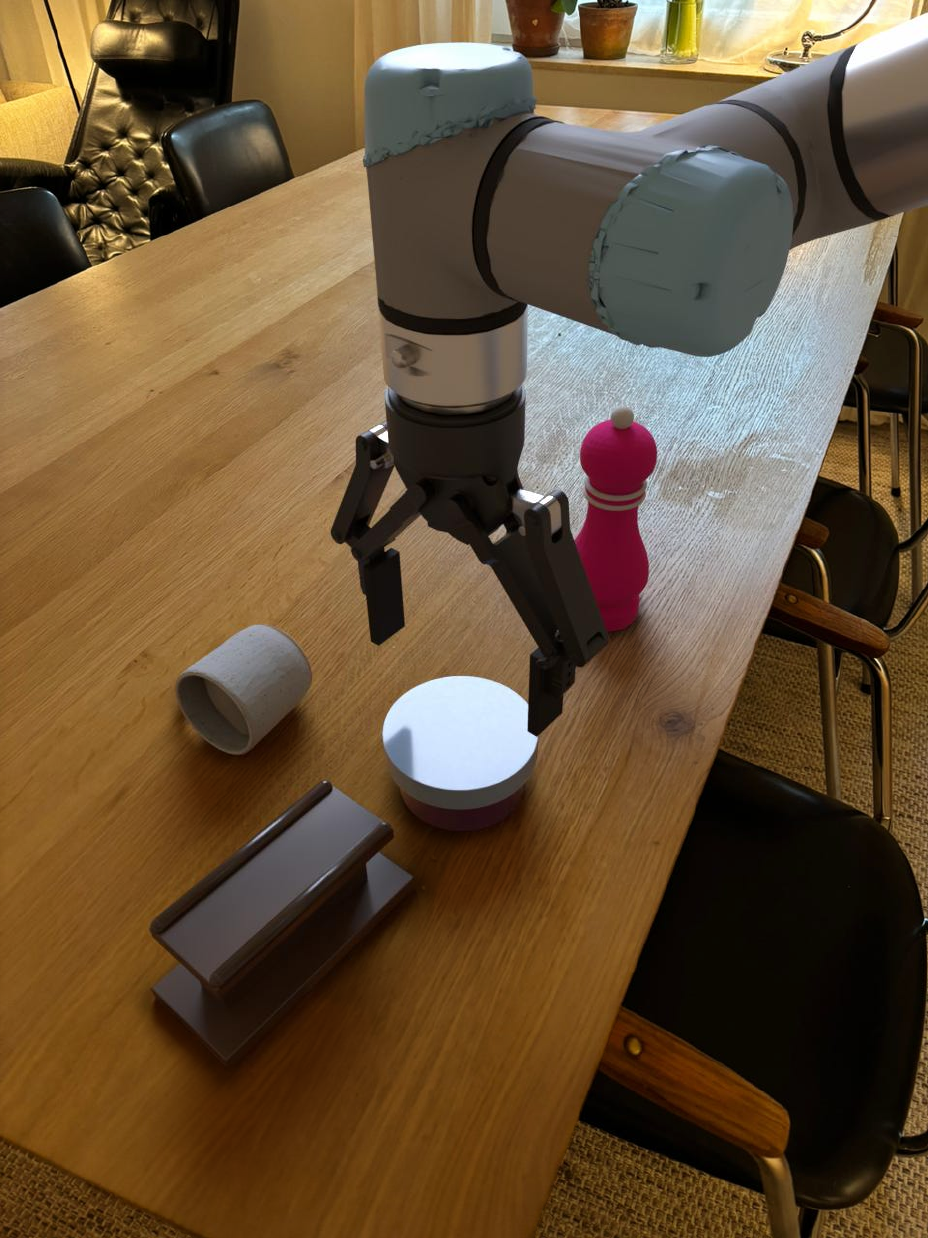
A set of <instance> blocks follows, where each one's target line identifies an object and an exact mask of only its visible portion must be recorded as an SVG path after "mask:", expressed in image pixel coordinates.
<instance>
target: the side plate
mask: <svg viewBox="0 0 928 1238" xmlns="http://www.w3.org/2000/svg"><path fill="white" fill-rule="evenodd" d="M527 728H528V701H526V700H525V699H524V698H523V696H521V695H520V694H519V693H517V692H516V691H515V690H513V689H512V688H510V687H508V686H507V685H504V684H502V683H500V682H498V681H495V680H492V679H488V678H484V677H478V676H470V675H452V676H443V677H439V678H434V679H431V680H428V681H424V682H423V683H420V684H417V685H416V686H414V687H413V688H411V689H409V690H408V691H406V692H405V693H404V694H402V695H401V696H400V697H398V699H397V700H396V701H395V702H394V703H393V705H391V707H390V708H389V710H388V712H387V714H386V716H385V718H384V721H383V725H382V731H381V732H382V733H381V739H382V749H383V758H384V764H385V767H386V770H387V772H388V774H389V776H390V777H391V779H392V781H393V782H394V783H395V784H396V785H397V786H398V787H399V789H400V788H401V789H402V790H403V791H404V792H406V793H407V794H408V795H410V796H411V797H413V798H415V799H417V800H419V801H421V802H423V803H425V804H428V805H432V806H435V807H439V808H445V809H455V810H465V809H475V808H481V807H485V806H489V805H491V804H494V803H497V802H499V801H501V800H503V799H505V798H507V797H509V796H510V795H512V794H513V793H515V792H516V791H517V790H518V789H519V788H521V787H522V786H523V785H524V786H525V783H526V782H528V780H529V779H530V777H531V775H532V774H533V771H534V769H535V767H536V764H537V760H538V752H539V751H538V750H539V736H538V737H536V736H534V735H533V734H531V733H529V732H527Z"/></svg>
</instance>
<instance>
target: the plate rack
mask: <svg viewBox="0 0 928 1238" xmlns="http://www.w3.org/2000/svg"><path fill="white" fill-rule="evenodd" d="M394 838H395V832H394V827H392V825H391V824H390V823H389V822H388V821H385V820H383V819H382V818H379V817H378V816H376V815H375V814H374V813H373V812H371V811H369V810H368V809H367V808H366V807H364V806H363V805H361V804H360V803H358V802H357V801H355V800H354V799H353V798H351V797H350V796H348V795H347V794H346V793H344V792H343V791H341V790H340V789H338V788H337V787H335V786H334V785H333V783H332V782H331V781H330V780H327V779H324V780H321V781H319V782H318V783H317V784H315V785H314V786H313V787H312V788H310V789H309V790H308V791H307V792H306V793H304V794H303V795H302V796H300V798H299V799H297V800H296V801H295V802H294V803H293V804H291V805H289V806H288V808H287V809H285V810H284V811H283V812H282V813H280V814H279V815H278V816H277V817H275V818H274V819H273V820H272V821H271V822H269V823H268V824H267V825H266V826H265V827H263V828H262V829H261V830H260V831H258V832H257V833H256V834H255V835H253V837H251V838H250V839H248V841H247V842H246V843H244V844H243V845H241V846H240V847H239V848H238V849H237V850H235V851H234V852H233V853H232V854H230V856H229V857H227V858H226V859H225V860H223V862H221V863H219V865H218V866H216V867H215V868H214V869H213V870H211V872H209V873H207V874H206V875H205V876H204V877H203V878H201V880H199V881H198V882H196V884H195V885H193V886H192V887H191V888H190V889H188V890H187V891H186V892H184V894H182V895H181V896H180V897H179V898H178V899H177V900H175V901H174V902H172V903H171V904H170V905H169V906H168V907H167V908H166V909H164V910H163V911H161V912H160V913H159V914H158V915H157V916H155V917H154V919H152V920H151V923H150V927H149V928H148V929H149V932H150V934H151V937H152V939H154V940H155V941H156V942H157V943H158V944H159V945H160V946H161V947H162V948H163V949H164V950H166V952H168V953H169V955H171V956H172V957H173V958H174V959H175V960H176V961H177V962H178V964H177V965H175V966H174V967H173V968H172V969H171V970H170V971H169V972H168V973H167V974H165V975H164V976H163V977H162V978H161V979H159V981H157V982H156V983H155V984H154V985H153V986H152V987H151V992H152V994H153V997H154V998H155V1000H156V1001H157V1002H158V1003H159V1004H160V1005H161V1006H162V1007H164V1009H165V1010H166V1011H167V1012H168V1013H169V1014H171V1016H172V1017H174V1019H175V1020H177V1021H178V1022H179V1023H180V1024H181V1025H182V1026H183V1027H184V1029H186V1031H188V1032H189V1033H190V1034H191V1035H192V1036H193V1037H194V1038H195V1040H197V1041H198V1042H199V1043H200V1044H201V1045H202V1046H203V1047H204V1048H205V1049H206V1050H207V1051H208V1052H209V1053H210V1054H211V1055H212V1056H214V1058H215V1059H216V1060H217V1061H219V1062H220V1063H221V1064H222V1066H223V1067H225V1068H226V1069H227V1070H228V1071H229V1070H231V1069H232V1068H233V1067H234V1066H235V1065H236V1064H237V1063H238V1062H239V1061H240V1060H241V1059H242V1058H243V1057H245V1056H246V1054H248V1052H250V1050H251V1049H252V1048H253V1047H255V1046H256V1045H257V1043H259V1041H261V1039H263V1038H264V1037H265V1036H266V1035H267V1033H269V1032H270V1031H271V1030H272V1029H273V1028H274V1027H275V1026H276V1025H277V1024H278V1023H279V1022H280V1021H281V1020H282V1019H283V1018H284V1017H285V1016H286V1015H288V1013H289V1012H290V1011H291V1010H292V1009H293V1008H294V1007H295V1006H297V1004H298V1003H299V1002H300V1001H301V1000H302V999H303V998H304V997H305V996H306V995H307V994H308V993H309V992H311V990H312V989H313V988H315V986H316V985H318V983H319V982H320V981H322V979H323V978H325V977H326V975H327V974H329V972H331V971H332V970H333V969H334V968H335V967H336V966H337V965H338V964H339V963H340V962H341V961H342V960H343V959H344V958H345V957H346V956H347V955H348V954H349V953H350V952H351V951H352V950H353V949H354V948H355V947H356V946H357V945H358V944H359V943H360V942H361V941H362V940H363V939H364V938H365V937H366V936H367V935H368V934H369V933H370V932H371V931H372V930H374V928H375V927H377V925H378V924H379V923H380V922H381V921H382V920H383V919H384V918H385V917H386V916H388V915H389V913H390V912H391V911H393V910H394V909H395V907H397V906H398V904H399V903H401V902H402V901H403V900H404V899H405V897H407V896H408V895H409V894H410V893H411V892H412V891H413V890H414V889H415V877H414V875H412V874H411V873H409V872H408V871H406V870H405V869H403V868H402V867H401V866H399V865H398V864H397V863H395V862H394V861H393V860H391V859H389V857H387V856H386V855H384V854H383V853H382V852H381V850H383V849H384V848H385V847H386V846H387V845H388V844H389V843H390V842H391V841H393V840H394Z"/></svg>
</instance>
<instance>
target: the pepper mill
mask: <svg viewBox="0 0 928 1238" xmlns="http://www.w3.org/2000/svg"><path fill="white" fill-rule="evenodd" d="M610 414H611V415H610V419H607V420H603V421H601V422H599V423H597V424H595V425H594V426H593V427H592V428H590V429H589V430H588V432H587V433H586V435H585V436H584V438H583V440H582V442H581V446H580V451H579V462H580V466H581V469H582V471H583V472H584V474H585V476H584V478H583V479H584V480H583V485H584V486H583V490H582V493H583V496H584V498H585V499H586V501H587V510H586V514H585V515H586V516H585V518H584V523H583V525H582V527H581V529H580V531H579V533H578V534H577V535H576V537H575V538H574V541H575V544H576V546H577V549H578V552H579V555H580V558H581V560H582V563H583V566H584V569H585V572H586V574H587V577H588V580H589V583H590V586H591V588H592V591H593V594H594V597H595V600H596V602H597V605H598V608H599V611H600V614H601V616H602V619H603V622H604V625H605V627H606V630H607V633H609V632H610V633H611V632H617V631H620V630H623V629H626V628H627V627H629V626H630V625H631V624H632V623H634V622H635V621H636V618H637V617H638V614H639V607H640V601H641V599H640V594H641V593H642V592H643V591H644V589H645V588H646V586H647V584H648V581H649V575H650V574H649V573H650V563H649V558H648V552H647V549H646V546H645V544H644V541H643V539H642V536H641V533H640V529H639V522H638V520H639V519H638V517H639V516H638V515H639V513H638V512H639V506H641V504H643V502H644V501H645V499H646V497H647V496H646V495H647V491H646V490H647V487H648V480H647V479H648V478H649V477H650V476H651V475H652V474H653V473H654V470H655V469H656V466H657V462H658V447H657V443H656V440H655V438H654V436H653V434H652V433H651V432H650V431H649V430H648V428H646V427H645V426H644V425H643V424H641V423H638V422H637V421H634V420H635V414H634V411H633V410H632V409H631V408H630V407H629V406H627V405H619V406H616V407H615V408H613V410H612V412H611V413H610Z"/></svg>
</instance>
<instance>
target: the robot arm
mask: <svg viewBox="0 0 928 1238" xmlns="http://www.w3.org/2000/svg"><path fill="white" fill-rule="evenodd" d="M533 74H534V72H533V69H532V66H531V63H530V61H529V60H528V58H527V57H526V56H525V55H523V54H522V53H520V52H518V51H514V50H512V49H511V48H509V47H507V46H502V45H498V44H492V43H483V42H482V43H481V42H437V43H425V44H417V45H413V46H408V47H403V48H400V49H396V50H393V51H390V52H388V53H386V54H384V55H382V56H380V57H379V58H377V59H376V61H374V63H373V64H372V65H371V66H370V68H369V69H368V71H367V74H366V76H365V81H364V91H363V92H364V101H363V102H364V103H363V104H364V156H362V164H363V168H365V170H366V179H367V187H368V200H369V210H370V211H369V212H370V224H371V236H372V247H373V258H374V259H373V260H374V271H375V282H376V296H377V308H378V319H379V321H378V323H379V334H380V345H381V347H380V348H381V360H382V371H383V380H384V382H385V384H386V385H387V387H386V389H385V391H384V404H385V405H384V407H385V409H384V410H385V420H383V421H382V422H380V423H379V424H377V425H375V426H373V427H372V428H370V429H368V430H366V431H364V432H362V433H361V434H359V435H357V436H356V437H355V465H354V468H353V470H352V473H351V476H350V478H349V482H348V483H347V487H346V489H345V492H344V494H343V497H342V500H341V501H340V505H339V507H338V510H337V513H336V515H335V518H334V521H333V523H332V526H331V529H330V536H331V538H332V539H333V541H334V543H336V544H338V545H343V544H344V543H345V544H346V545H347V546H349V547H350V553H351V556H352V557H353V559H354V560H355V561H357V567H358V575H359V577H358V578H359V585H360V589H361V593H362V594H363V595H364V596H365V600H366V609H367V619H368V627H369V629H368V630H369V638H370V643H373V644H374V645H375V646H377V647H380V646H381V645H383V643H385V642H386V641H388V640H389V639H390V638H392V637H393V636H394V635H396V634H397V633H398V632H400V631H401V630H402V629H403V628H405V627H406V621H405V620H406V619H405V608H404V607H405V606H404V596H403V595H404V594H403V581H402V580H403V579H402V566H401V555H400V554H401V553H400V551H399V550H397V549H395V548H393V547H390V548H388V549H387V550H385V548H386V547H387V546H388V545H390V544H392V543H393V542H395V541H396V540H397V539H396V538H397V537H398V536H400V534H402V533H403V532H405V530H407V528H409V526H411V525H412V524H413V523H414V522H415V521H417V519H418V518H420V517H422V518H423V520H425V521H426V522H427V527H428V528H431V529H432V530H435V531H436V532H441V533H446V534H448V535H450V536H451V537H452V538H454V539H455V540H456V541H458V542H460V543H462V544H464V545H467V546H470V548H471V549H472V550H473V553H474V555H475V557H476V558H477V560H478V561H479V562H480V564H482V565H487V566H489V567H490V568H491V570H492V571H493V573H494V575H495V576H496V578H497V580H498V582H499V584H500V585H501V586H502V588H503V590H504V592H505V593H506V595H507V597H508V598H509V600H510V602H511V603H512V605H513V607H514V609H515V610H516V612H517V614H518V615H519V617H520V619H521V620H522V622H523V624H524V625H525V627H526V628H527V630H528V632H529V634H530V636H531V637H532V639H533V641H534V642H535V644H536V645H537V647H536V648H535V649H534V650H533V651H532V652H531V653H530V654H529V668H528V672H529V673H528V698H527V699H528V701H527V703H528V728H527V732H529V733H531V734H533V735H534V736H536V737H538V738H539V736H540V735H541V734H542V733H543V732H544V731H546V729H547V728H548V727H549V726H550V725H552V723H554V722H555V721H556V719H558V718H559V717H560V716H561V715H562V714H563V710H564V709H563V708H564V696H565V694H566V693H567V692H568V691H569V690H570V689H571V688H572V687H573V686H574V684H575V683H576V672H577V670H576V669H577V668H584V667H585V666H586V665H587V664H588V663H590V661H592V660H593V659H594V658H595V657H596V656H597V655H598V654H599V653H600V652H601V651H602V650H603V649H604V648H606V646H607V645H609V643H610V636H609V632H607V630H606V627H605V625H604V622H603V619H602V616H601V614H600V611H599V608H598V605H597V602H596V600H595V597H594V594H593V591H592V588H591V586H590V583H589V580H588V577H587V574H586V572H585V569H584V566H583V563H582V560H581V558H580V555H579V552H578V549H577V546H576V544H575V541H574V540H575V538H574V536H573V533H572V529H571V517H570V516H571V515H570V514H571V513H570V500H569V497H568V495H567V494H566V493H565V492H564V491H562V490H561V489H554V490H552V491H550V492H549V493H548V494H546V495H541V494H538V493H535V492H531V491H528V490H524V489H525V488H524V486H523V483H522V481H521V478H520V475H519V464H520V460H521V457H522V453H523V450H524V447H525V441H526V440H525V438H526V437H525V436H526V397H527V392H526V387H525V385H524V384H523V383H524V382H525V380H526V378H527V373H528V327H529V326H528V323H529V321H528V320H529V319H528V317H529V316H528V315H529V314H528V313H529V306H531V307H535V308H536V309H540V310H543V311H545V312H549V313H551V314H554V315H556V316H559V317H563V318H565V319H568V320H571V321H574V322H577V323H579V324H582V325H585V326H587V327H591V328H592V329H593V328H594V329H596V330H599V331H602V332H604V333H608V334H610V335H613V336H616V337H618V338H619V339H620V340H621V341H624V342H628V343H630V344H632V345H635V346H641V345H643V346H644V347H648V348H651V349H654V348H656V349H657V348H658V349H659V348H661V349H665V350H669V351H673V352H678V353H681V354H685V355H689V356H693V357H698V358H711V357H716V356H720V355H722V354H725V353H727V352H729V351H731V350H733V349H734V348H736V347H737V346H739V345H740V344H741V343H742V342H743V341H744V340H746V339H747V337H748V336H750V334H751V333H752V330H753V329H754V326H755V323H756V321H757V318H760V317H762V316H764V315H765V314H766V312H767V311H768V309H769V307H770V305H771V304H772V302H773V300H774V297H775V295H776V293H777V291H778V288H779V286H780V284H781V281H782V279H783V275H784V273H785V269H786V266H787V262H788V258H789V253H790V251H791V250H793V249H794V248H796V247H799V246H801V245H804V244H805V243H807V244H808V243H809V242H813V241H815V240H818V239H821V238H824V237H829V236H833V235H836V234H839V233H843V232H846V231H851V230H853V229H857V228H860V227H863V226H867V225H870V224H874V223H876V222H879V221H883V220H886V219H888V218H892V217H895V216H898V215H900V214H902V213H906V212H910V211H913V210H917V209H919V208H924V207H928V12H925V13H923V14H921V15H918V16H916V17H914V18H911V19H910V20H907V21H904V22H902V23H900V24H897V25H896V26H893V27H891V28H888V29H886V30H884V31H881V32H879V33H877V34H874V35H872V36H869V37H868V38H866V39H864V40H863V41H861V42H859V43H857V44H856V43H855V44H854V45H851V46H848V47H845V48H843V49H839V50H837V51H835V52H833V53H830V54H828V55H825V56H823V57H821V58H818V59H815V60H813V61H811V62H809V63H807V64H804V65H801V66H798V67H795V68H793V69H790V70H788V71H786V72H783V73H781V74H779V75H777V76H774V77H771V78H769V79H767V80H765V81H764V82H762V83H759V84H756V85H755V86H752V87H750V88H747V89H744V90H742V91H740V92H738V93H735V94H733V95H731V96H728V97H726V98H724V99H720V100H719V101H716V102H712V103H709V104H706V105H704V106H703V105H702V106H701V107H698V108H695V109H693V110H690V111H688V112H684V113H683V114H680V115H677V116H674V117H672V118H669V119H666V120H664V121H661V122H658V123H656V124H653V125H651V126H648V127H646V128H643V129H641V130H637V131H630V132H628V131H627V132H625V131H614V130H607V129H600V128H594V127H588V126H582V125H576V124H570V123H566V122H563V121H561V120H555V119H553V118H549V117H546V116H543V115H538V114H536V113H535V110H536V109H537V107H536V106H537V103H538V99H537V98H536V97H535V95H534V75H533ZM528 305H529V306H528ZM394 468H395V469H396V473H397V474H398V475H399V478H400V479H401V481H402V483H403V485H404V487H405V489H406V490H405V491H404V493H403V494H402V495H401V496H400V497H399V498H398V499H397V500H396V501H395V502H394V503H393V504H392V505H391V506H390V507H388V508H389V510H388V511H386V513H384V515H382V517H380V518H379V520H378V521H376V523H375V524H374V525H372V526H370V524H371V522H372V519H373V517H374V515H375V512H376V510H377V508H378V506H379V504H380V501H381V498H382V496H383V494H384V491H385V489H386V487H387V485H388V482H389V480H390V477H391V475H392V473H393V471H394ZM502 526H504V529H505V535H503V536H502V537H500V538H498V540H496V541H495V542H493V541H492V539H491V538H490V536H491V535H493V534H494V533H495V532H497V531H498V530H499V529H500V527H502Z"/></svg>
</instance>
